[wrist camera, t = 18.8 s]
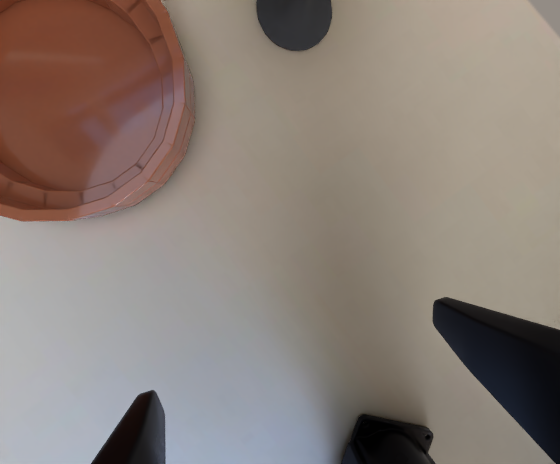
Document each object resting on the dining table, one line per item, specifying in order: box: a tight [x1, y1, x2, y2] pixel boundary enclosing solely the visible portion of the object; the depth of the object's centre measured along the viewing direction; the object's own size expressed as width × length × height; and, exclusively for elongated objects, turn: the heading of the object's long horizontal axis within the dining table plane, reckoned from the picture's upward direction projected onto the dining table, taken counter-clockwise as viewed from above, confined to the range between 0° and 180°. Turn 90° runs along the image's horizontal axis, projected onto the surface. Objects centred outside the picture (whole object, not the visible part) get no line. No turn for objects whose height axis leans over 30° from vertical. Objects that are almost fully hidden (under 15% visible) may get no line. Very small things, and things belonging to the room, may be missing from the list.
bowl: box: [0, 0, 195, 221], centre depth 16 cm, size 14×14×4 cm
